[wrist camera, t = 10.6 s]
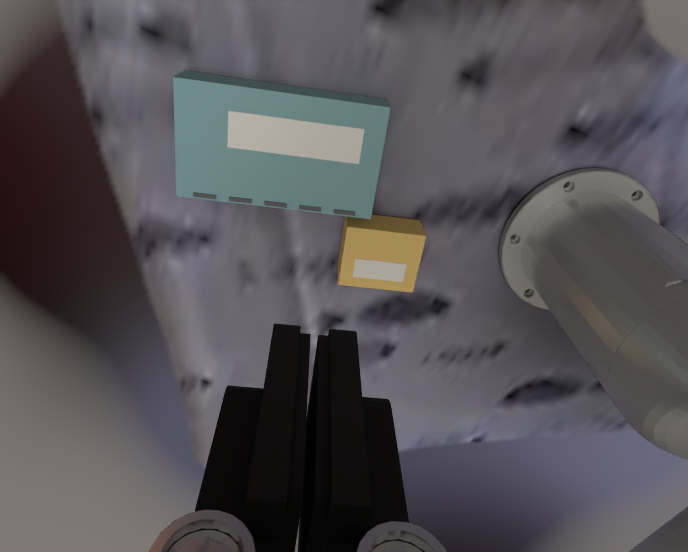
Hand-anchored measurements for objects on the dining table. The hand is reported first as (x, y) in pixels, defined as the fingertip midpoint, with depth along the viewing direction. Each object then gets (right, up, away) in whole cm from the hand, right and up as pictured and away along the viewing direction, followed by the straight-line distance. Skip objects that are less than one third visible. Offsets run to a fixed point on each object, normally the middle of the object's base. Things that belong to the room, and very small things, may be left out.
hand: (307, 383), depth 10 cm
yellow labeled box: (+4, +5, +31) cm, 31 cm away
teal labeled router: (-4, +12, +26) cm, 29 cm away
